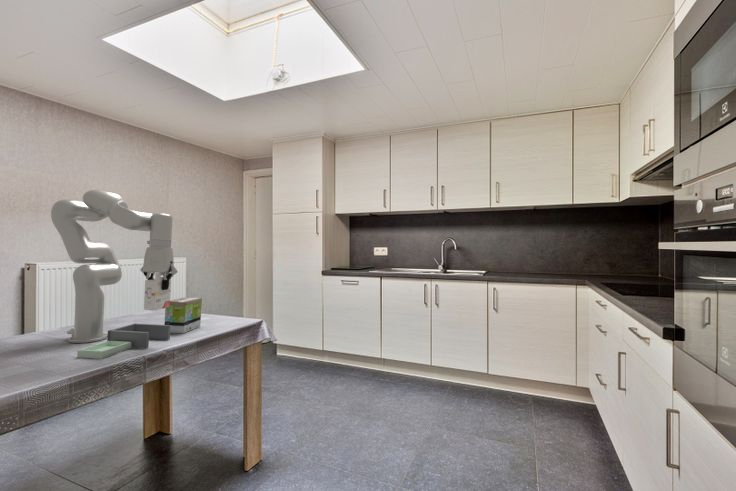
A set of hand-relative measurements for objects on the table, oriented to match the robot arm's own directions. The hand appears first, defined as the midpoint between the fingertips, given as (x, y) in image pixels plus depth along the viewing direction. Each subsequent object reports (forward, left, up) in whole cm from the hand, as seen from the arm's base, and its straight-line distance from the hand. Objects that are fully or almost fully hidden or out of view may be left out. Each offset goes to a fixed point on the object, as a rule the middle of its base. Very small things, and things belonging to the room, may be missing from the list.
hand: (157, 288), depth 138 cm
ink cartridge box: (0, 0, -8) cm, 8 cm away
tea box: (-6, +27, -23) cm, 36 cm away
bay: (-9, +3, -23) cm, 25 cm away
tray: (-11, -11, -23) cm, 28 cm away
